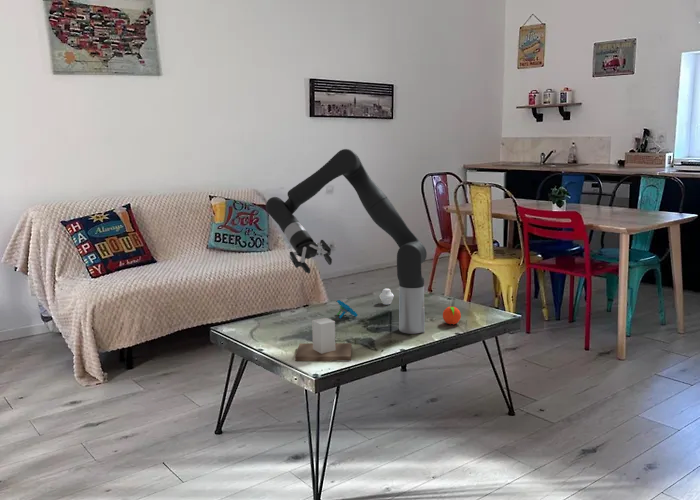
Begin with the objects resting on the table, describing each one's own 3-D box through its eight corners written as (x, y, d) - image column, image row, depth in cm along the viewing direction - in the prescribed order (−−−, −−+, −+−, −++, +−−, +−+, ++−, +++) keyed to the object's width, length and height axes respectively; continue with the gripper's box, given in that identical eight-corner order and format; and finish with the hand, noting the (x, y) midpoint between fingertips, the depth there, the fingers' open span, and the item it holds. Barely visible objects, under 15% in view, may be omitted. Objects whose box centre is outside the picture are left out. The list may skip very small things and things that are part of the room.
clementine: (462, 327, 232) (463, 309, 231) (444, 327, 232) (444, 309, 231) (459, 321, 240) (459, 303, 239) (441, 321, 240) (441, 304, 239)
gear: (362, 315, 244) (344, 299, 241) (353, 327, 243) (334, 311, 240) (352, 312, 254) (335, 297, 252) (343, 323, 253) (326, 308, 250)
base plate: (351, 347, 212) (351, 329, 211) (350, 360, 199) (350, 341, 198) (299, 347, 212) (298, 329, 211) (295, 361, 200) (294, 341, 198)
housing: (326, 345, 209) (326, 317, 207) (335, 350, 205) (334, 321, 203) (312, 349, 206) (312, 320, 204) (321, 353, 202) (320, 324, 200)
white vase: (393, 301, 270) (393, 286, 269) (394, 305, 264) (394, 289, 263) (379, 301, 270) (379, 286, 269) (379, 305, 264) (379, 289, 263)
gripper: (280, 236, 219) (302, 267, 210) (315, 223, 224) (338, 253, 215) (281, 250, 224) (302, 281, 215) (315, 237, 230) (337, 267, 221)
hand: (320, 267), depth 215 cm, fingers open, 8 cm apart
